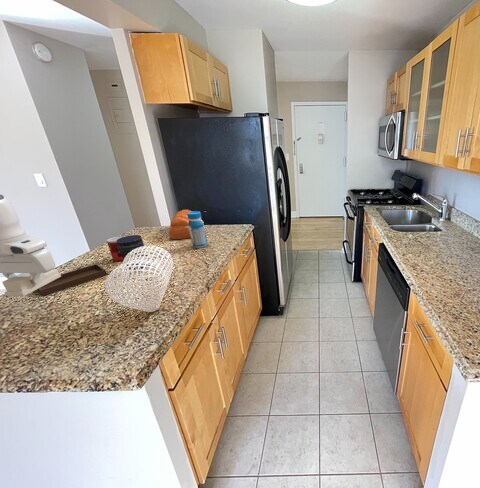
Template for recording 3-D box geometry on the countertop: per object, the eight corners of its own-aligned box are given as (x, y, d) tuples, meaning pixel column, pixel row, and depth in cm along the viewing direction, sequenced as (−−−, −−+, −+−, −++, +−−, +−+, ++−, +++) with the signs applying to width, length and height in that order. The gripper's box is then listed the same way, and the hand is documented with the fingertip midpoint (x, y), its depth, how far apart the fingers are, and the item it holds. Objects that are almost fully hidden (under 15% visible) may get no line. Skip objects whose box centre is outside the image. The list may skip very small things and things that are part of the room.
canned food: (119, 255, 139) (112, 236, 135) (134, 254, 140) (128, 235, 136) (109, 261, 132) (102, 241, 128) (126, 261, 133) (119, 241, 129)
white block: (23, 296, 83) (17, 282, 81) (6, 296, 83) (-1, 282, 81) (61, 276, 95) (56, 264, 93) (46, 276, 95) (40, 264, 93)
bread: (200, 223, 192) (197, 206, 187) (196, 237, 164) (191, 217, 159) (177, 225, 187) (173, 208, 182) (168, 240, 160) (163, 220, 155)
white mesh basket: (170, 330, 85) (152, 269, 76) (113, 341, 80) (88, 278, 72) (184, 287, 109) (172, 238, 101) (141, 293, 105) (125, 243, 96)
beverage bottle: (200, 249, 147) (194, 215, 140) (189, 247, 150) (181, 213, 142) (211, 243, 155) (205, 211, 147) (200, 242, 157) (193, 210, 150)
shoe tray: (43, 296, 104) (40, 290, 103) (36, 287, 110) (34, 282, 109) (107, 274, 120) (105, 269, 119) (98, 268, 126) (96, 263, 125)
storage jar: (144, 260, 133) (136, 233, 128) (153, 265, 128) (145, 237, 122) (122, 268, 126) (112, 239, 120) (130, 273, 121) (120, 244, 115)
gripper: (-39, 248, 78) (-16, 288, 83) (30, 249, 79) (48, 288, 84) (-14, 241, 84) (6, 278, 89) (50, 241, 84) (66, 278, 90)
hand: (27, 283), depth 87 cm, fingers closed on white block, 5 cm apart
